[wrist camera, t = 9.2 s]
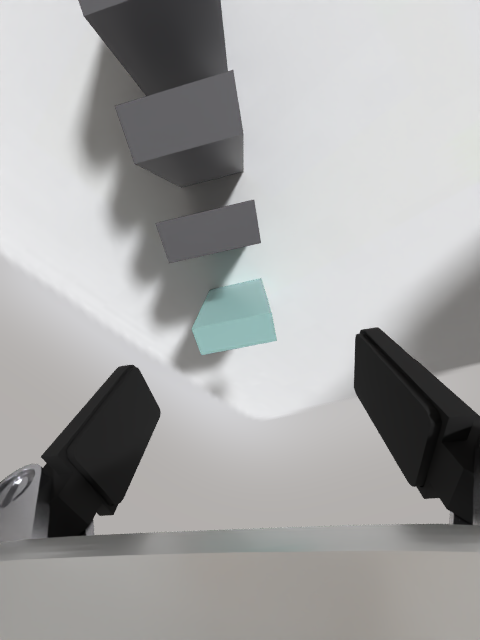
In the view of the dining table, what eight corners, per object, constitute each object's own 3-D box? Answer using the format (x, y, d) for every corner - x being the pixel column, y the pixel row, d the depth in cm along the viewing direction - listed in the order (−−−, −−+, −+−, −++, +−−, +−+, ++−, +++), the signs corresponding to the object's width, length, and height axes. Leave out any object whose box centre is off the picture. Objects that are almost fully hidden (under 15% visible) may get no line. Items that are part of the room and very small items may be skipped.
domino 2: (172, 156, 16) (115, 105, 9) (237, 139, 16) (233, 69, 8) (181, 187, 17) (134, 163, 10) (243, 171, 16) (243, 134, 9)
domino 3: (190, 221, 18) (155, 223, 11) (249, 207, 17) (254, 199, 10) (197, 246, 19) (169, 263, 12) (253, 233, 18) (260, 243, 11)
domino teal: (209, 289, 20) (191, 329, 13) (261, 278, 20) (271, 312, 13) (215, 308, 21) (201, 355, 14) (265, 298, 21) (276, 340, 14)
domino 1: (149, 75, 14) (52, -76, 7) (223, 52, 14) (200, -137, 6) (160, 113, 15) (83, 16, 8) (230, 93, 14) (217, -32, 7)
